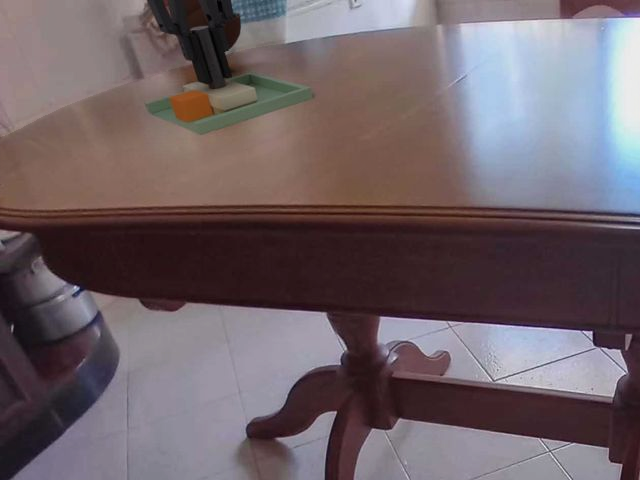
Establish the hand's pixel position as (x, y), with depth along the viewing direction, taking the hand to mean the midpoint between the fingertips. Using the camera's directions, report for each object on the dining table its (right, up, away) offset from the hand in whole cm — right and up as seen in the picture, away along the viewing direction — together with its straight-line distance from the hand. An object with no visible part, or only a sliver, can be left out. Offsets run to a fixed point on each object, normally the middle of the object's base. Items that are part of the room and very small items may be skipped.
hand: (215, 79), depth 102 cm
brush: (0, -3, +2) cm, 4 cm away
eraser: (-3, -5, 0) cm, 6 cm away
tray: (+1, -4, +3) cm, 5 cm away
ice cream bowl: (-6, +8, +21) cm, 23 cm away
